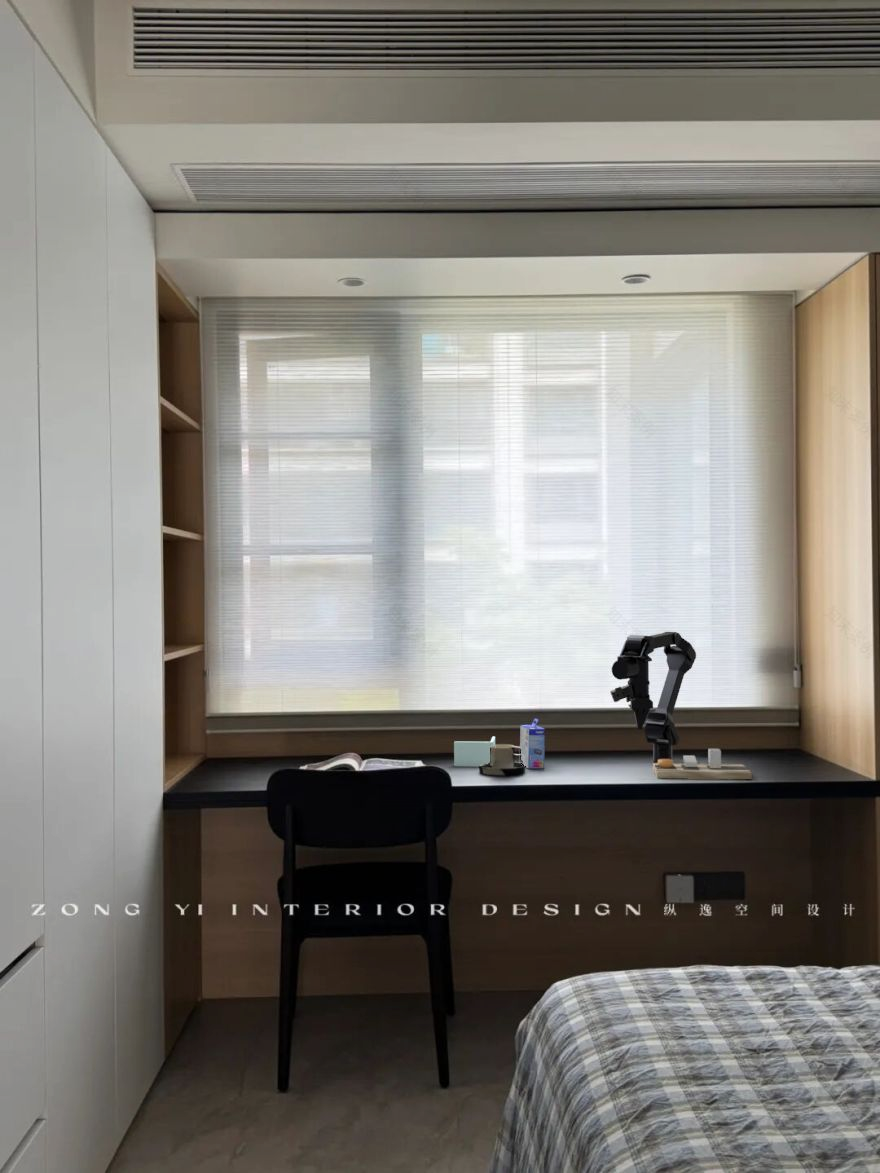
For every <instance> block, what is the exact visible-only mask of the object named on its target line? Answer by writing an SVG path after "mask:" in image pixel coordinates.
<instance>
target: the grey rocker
mask: <svg viewBox="0 0 880 1173" xmlns="http://www.w3.org/2000/svg"><path fill="white" fill-rule="evenodd" d="M682 756H683V759H682V761H683V763H684V764H685V766H686V767H697V764H698V760H697V758H696V756H695V755H682Z"/></svg>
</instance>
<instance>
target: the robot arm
mask: <svg viewBox="0 0 880 1173" xmlns="http://www.w3.org/2000/svg"><path fill="white" fill-rule="evenodd" d="M659 648H663V653H664V655H666V663H667V667H668V672H667V674H666V678H665V681H664V684H663V687H662V691H661V694H660V697H659V701H658V703H657V707H656V709H655V711H650V710H651V709H654V701H653V700H652V699H651V697H650V687H649V686H650V678H649V677H650V676H649V672H650V670H649V662H652V661H653V659H652V658H651V657H650V656H649V655H650V654H652V653H653V652H654V651H655V649H659ZM696 658H697V652H696V650H695V648H694V647H693V645H692V644H691V643H690V642H689V641H688V640H686V639H684V637H682V636H681V634H680V632H676V631H664V632H662V633H657V634H651V635H635V634H634V635H633V634H631V635H628V636H626V640H625V641H624V644H623V646H622V649H621V652H620V654H619V656H617V659H616V660H615V661H614V662H613V664H612V667H611V673H612V676H613V677H614V678H615V679H617V680H627V679H628V680H627V684H625V685H622V686H618V687H615V689H612V690H610V691H609V692H610V695H611V697H612V700H613V702H614V703H617V702H620V700H624V699H625V700H626V702H627V703H630V704H628V707H629V708H630V710H632V711H633V714H634V719H635V723H636V727H637V730H642V729H643V726H644V729H643V730H644V735H645V739H646V743H647V744H650V743H651V744H652V746H653V748H652V752H653V753H652V755H653V757H652V759H650V760H651V761H650V762H652V763H651V764H653V763H658V759H672V760H673V746H677V745H679V742H680V736H679V734H678V732H677V731H676V729H675V724H676V723H675V721H674V717H673V714H674V710H675V706H676V703H677V700H678V696H679V693H680V689H681V687H682V683H683V681H684V680H683V679H684V676H685V675H686V673H687V672H688V671H690V670H691V669H692V668H693V665H694V664H695V663H694V662H695V660H696ZM644 724H645V725H644ZM673 763H675V761H673Z"/></svg>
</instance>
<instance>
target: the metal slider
mask: <svg viewBox="0 0 880 1173" xmlns="http://www.w3.org/2000/svg"><path fill="white" fill-rule="evenodd" d="M707 749H708V750H707V757H708V758H707V759H708V760H707V761H708V762H707V764H708V766H709V767H710V768H721V764H722V750H721V749H720V748H707Z"/></svg>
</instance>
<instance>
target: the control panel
mask: <svg viewBox="0 0 880 1173" xmlns="http://www.w3.org/2000/svg"><path fill="white" fill-rule="evenodd" d="M653 770H654V771H653ZM652 771H653V772H655V773H654V774H656V775H655V776H657V777H656V779H657V778H688V779H687V780H718V779H752V780H753V778H752V776H753V775H752V772H751V771H750V770H749V768H748V767H747V766H746V765H744V764H743V763H721V768H710V767H709V766H708V763H697V767H686V766H685V764H684V762H682V763H681V762H679V763H678V762H677V763H676V762H674V763H673V767H669V768H664V767H658V763H652Z"/></svg>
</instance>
